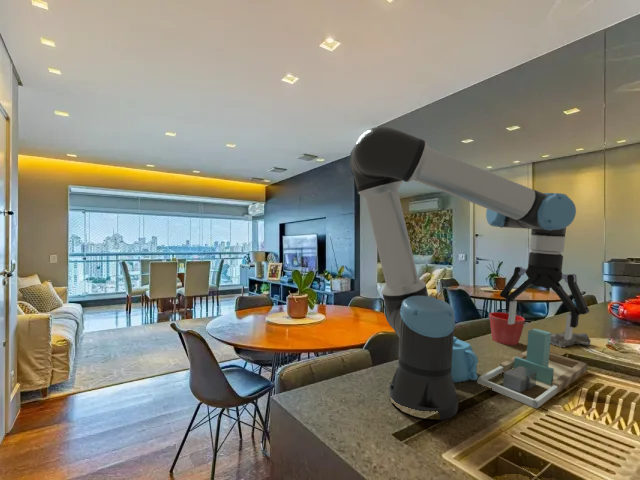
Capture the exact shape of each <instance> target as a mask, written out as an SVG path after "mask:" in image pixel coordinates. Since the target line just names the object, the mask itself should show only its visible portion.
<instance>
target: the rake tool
mask: <svg viewBox="0 0 640 480" xmlns="http://www.w3.org/2000/svg"><path fill="white" fill-rule="evenodd" d="M551 334H552V332H550V331H545V330H543V329H538V328H532V329H530V330H528V333H527V343H526V345H527V347H526V351H527V357H526V360H525V359H522V358H519V357H515V356H514V357H515V358H514V369H515V368H517V367H519V366H522V367H525V368H528V369H531V370H534V371H537V376H536V380H538V381H540V382H543V383H546V384H549V385H552V382H553V374H554V369H553V368H550V367H548V365H549V352H550V349H551V343H550V340H551ZM550 353H551V352H550Z"/></svg>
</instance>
